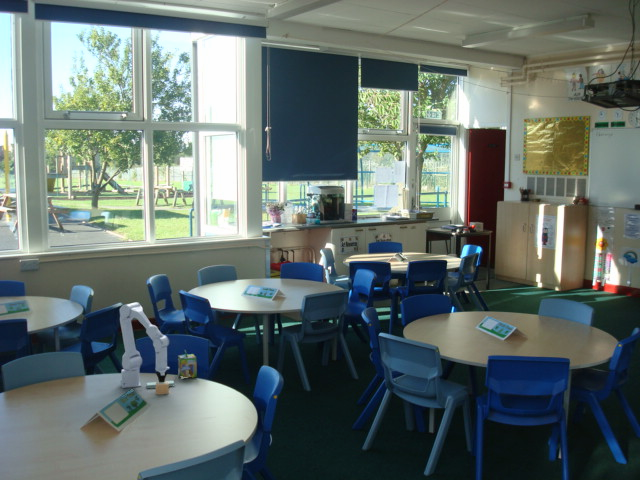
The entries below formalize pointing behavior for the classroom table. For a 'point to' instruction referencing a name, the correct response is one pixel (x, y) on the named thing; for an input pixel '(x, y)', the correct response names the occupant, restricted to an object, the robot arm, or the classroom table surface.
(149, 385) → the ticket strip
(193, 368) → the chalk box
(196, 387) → the classroom table surface
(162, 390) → the stub
